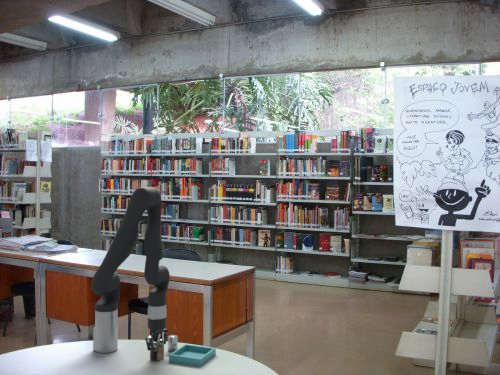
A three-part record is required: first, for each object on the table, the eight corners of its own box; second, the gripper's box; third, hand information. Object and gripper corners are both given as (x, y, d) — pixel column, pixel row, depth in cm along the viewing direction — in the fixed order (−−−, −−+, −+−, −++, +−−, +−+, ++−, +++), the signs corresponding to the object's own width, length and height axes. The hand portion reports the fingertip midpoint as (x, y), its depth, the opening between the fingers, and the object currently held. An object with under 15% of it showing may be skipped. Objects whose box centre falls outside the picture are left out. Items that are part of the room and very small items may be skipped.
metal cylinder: (166, 351, 213) (166, 337, 212) (170, 348, 216) (171, 334, 216) (174, 352, 211) (174, 338, 211) (179, 349, 215) (179, 335, 215)
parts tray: (168, 361, 201) (168, 354, 201) (185, 350, 214) (185, 344, 214) (200, 366, 196) (200, 359, 196) (215, 354, 209) (215, 348, 209)
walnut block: (150, 359, 203) (150, 347, 203) (155, 356, 206) (155, 344, 206) (158, 360, 201) (158, 348, 201) (163, 357, 205) (163, 345, 205)
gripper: (158, 310, 212) (158, 351, 212) (139, 319, 198) (139, 362, 198) (174, 312, 209) (173, 353, 209) (155, 321, 196) (155, 365, 196)
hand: (157, 357), depth 204 cm, fingers closed on walnut block, 4 cm apart
